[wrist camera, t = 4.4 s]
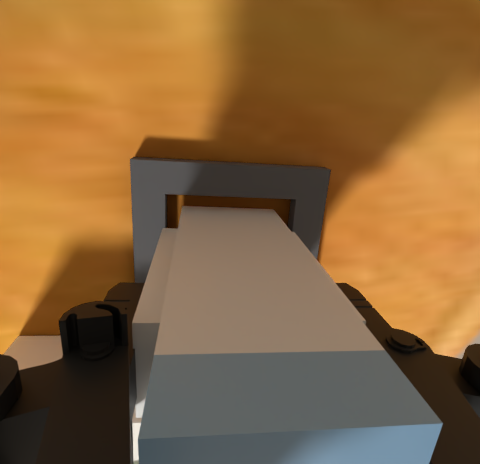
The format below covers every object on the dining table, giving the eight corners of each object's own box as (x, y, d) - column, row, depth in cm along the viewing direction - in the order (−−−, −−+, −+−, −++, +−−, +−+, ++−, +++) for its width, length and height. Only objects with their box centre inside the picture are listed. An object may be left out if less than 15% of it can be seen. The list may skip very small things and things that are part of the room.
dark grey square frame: (134, 156, 13) (130, 159, 13) (323, 167, 15) (330, 169, 14) (139, 325, 16) (136, 336, 15) (300, 324, 17) (305, 334, 16)
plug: (182, 205, 14) (137, 439, 4) (273, 209, 15) (442, 423, 5) (181, 288, 16) (145, 627, 5) (265, 289, 16) (382, 598, 6)
